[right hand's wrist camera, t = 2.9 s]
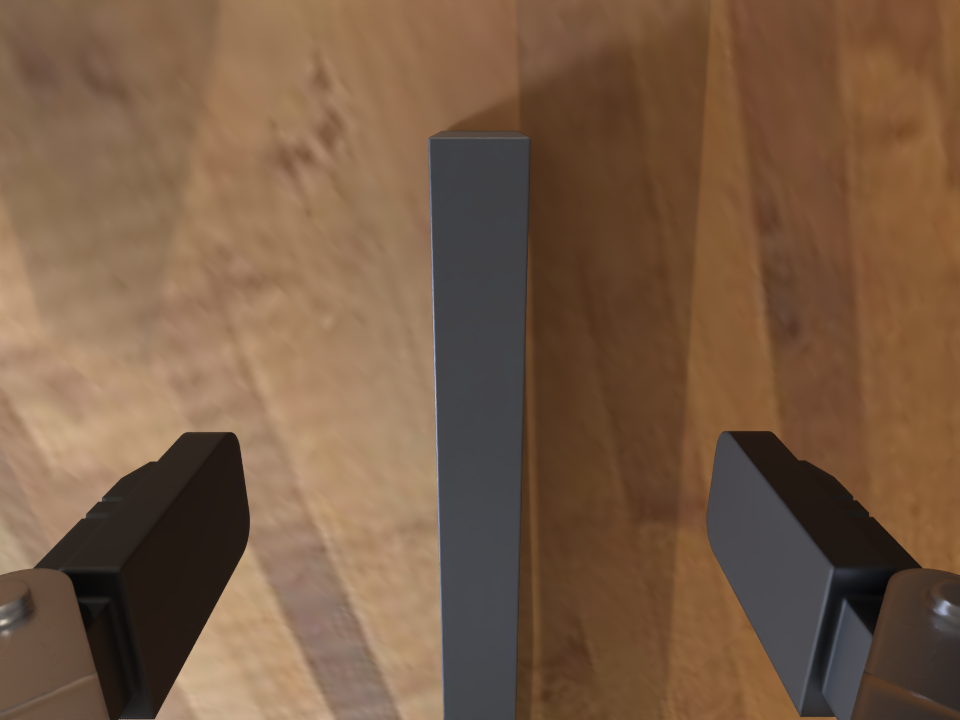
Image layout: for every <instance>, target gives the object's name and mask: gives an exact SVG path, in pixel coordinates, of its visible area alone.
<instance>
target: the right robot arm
mask: <svg viewBox="0 0 960 720" xmlns="http://www.w3.org/2000/svg"><path fill="white" fill-rule="evenodd" d="M249 528H250V514H249V506H248V499H247V493H246V486H245V479H244V472H243V465H242V458H241V451H240V445H239V441H238V439H237V437H236V435H235V434H234V433H232V432H186V433H184V434H183V435H181V436H180V438H179V439H178V440H177V441H176V442H175V443H174V444H173V445H172V446H171V447H170V448H169V449H168V451H167V452H166V453H165V454H164V455H163V456H162V457H161V458H160V459H159V460H158V461H157V462H149V463H147V464H145V465H144V466H142V467H140V468H138V469H137V470H135V471H133V472H131V473H130V474H128V475H126V476H124V477H123V478H121V479H120V480H119V481H118V482H117V483H116V484H115V485H114V486H113V487H112V488H111V489H110V490H109V491H108V492H107V493H106V494H105V495H104V497H103V498H102V502H98V503H97V504H96V505H95V506H94V507H93V508H92V509H91V510H90V511H89V512H88V513H87V514H86V518H85V519H81V520H80V521H79V522H78V523H77V524H76V525H75V526H74V527H73V528H72V529H71V530H70V531H69V532H68V533H67V534H66V535H65V536H64V537H63V538H62V539H61V540H60V542H59V543H58V544H57V545H56V546H55V547H54V548H53V549H52V550H51V551H50V552H49V553H48V554H47V555H46V556H45V557H44V558H43V559H42V560H41V561H40V562H39V563H38V564H37V565H36V566H35V567H34V568H33V569H25V570H19V571H15V572H10V573H7V574H3V575H0V720H119V719H155V717H156V716H157V714H158V712H159V710H160V708H161V706H162V704H163V702H164V701H165V699H166V697H167V695H168V693H169V691H170V689H171V688H172V686H173V684H174V682H175V680H176V678H177V676H178V674H179V673H180V671H181V669H182V667H183V665H184V663H185V661H186V659H187V658H188V656H189V654H190V652H191V650H192V648H193V646H194V645H195V643H196V641H197V639H198V637H199V635H200V633H201V631H202V630H203V628H204V626H205V624H206V622H207V620H208V618H209V617H210V615H211V613H212V611H213V609H214V607H215V605H216V603H217V602H218V600H219V598H220V596H221V594H222V592H223V590H224V589H225V587H226V585H227V583H228V581H229V579H230V577H231V575H232V574H233V572H234V570H235V568H236V566H237V564H238V562H239V561H240V559H241V557H242V555H243V553H244V551H245V548H246V545H247V541H248V537H249ZM707 532H708V538H709V542H710V546H711V548H712V551H713V553H714V555H715V557H716V559H717V560H718V562H719V564H720V566H721V568H722V570H723V572H724V574H725V576H726V577H727V579H728V581H729V583H730V585H731V587H732V589H733V591H734V593H735V594H736V596H737V598H738V600H739V602H740V604H741V606H742V608H743V610H744V611H745V613H746V615H747V617H748V619H749V621H750V623H751V625H752V627H753V628H754V630H755V632H756V634H757V636H758V638H759V640H760V642H761V644H762V645H763V647H764V649H765V651H766V653H767V655H768V657H769V659H770V661H771V662H772V664H773V666H774V668H775V670H776V672H777V674H778V676H779V678H780V679H781V681H782V683H783V685H784V687H785V689H786V691H787V693H788V695H789V696H790V698H791V700H792V702H793V704H794V706H795V708H796V710H797V712H798V713H799V715H800V717H836V718H837V720H960V575H957V574H953V573H950V572H945V571H941V570H935V569H926V568H922V567H921V566H920V565H919V564H918V563H917V562H916V561H915V560H914V559H913V558H912V557H911V556H910V555H909V554H908V553H907V552H906V551H905V550H904V549H903V547H902V546H901V545H900V544H899V543H898V542H897V541H896V540H895V539H894V538H893V537H892V536H891V535H890V534H889V533H888V532H887V531H886V530H885V529H884V528H883V527H882V526H881V525H880V524H879V523H878V522H877V521H876V520H875V519H874V518H873V517H869V512H868V511H867V510H866V509H865V508H864V507H863V506H862V505H861V504H860V503H859V502H858V501H857V500H853V496H852V495H851V494H850V493H849V492H848V491H847V490H846V489H845V488H844V487H843V486H842V485H841V484H840V482H839V481H838V480H837V479H836V478H835V477H833V476H832V475H830V474H828V473H826V472H825V471H823V470H821V469H819V468H818V467H816V466H814V465H812V464H811V463H809V462H807V461H805V460H797V458H796V457H795V456H794V455H793V454H792V453H791V452H790V451H789V450H788V449H787V448H786V446H785V445H784V444H783V443H782V442H781V441H780V440H779V439H778V438H777V437H776V435H775V434H773V433H772V432H770V431H724V432H722V433H721V435H720V436H719V438H718V441H717V446H716V452H715V459H714V466H713V473H712V481H711V488H710V495H709V502H708V509H707Z"/></svg>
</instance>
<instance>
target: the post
mask: <svg viewBox="0 0 960 720" xmlns="http://www.w3.org/2000/svg"><path fill="white" fill-rule="evenodd" d="M530 144H531V139H530V137H528V136H526V135H524V134H522V133H520V132H518V131H441V132H439V133H437V134H435V135H433V136H431V137H429V139H428V147H429V185H430V224H431V262H432V300H433V338H434V376H435V415H436V453H437V491H438V529H439V567H440V606H441V644H442V682H443V720H516V690H517V651H518V612H519V573H520V534H521V495H522V456H523V417H524V378H525V339H526V300H527V261H528V222H529V183H530Z"/></svg>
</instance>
